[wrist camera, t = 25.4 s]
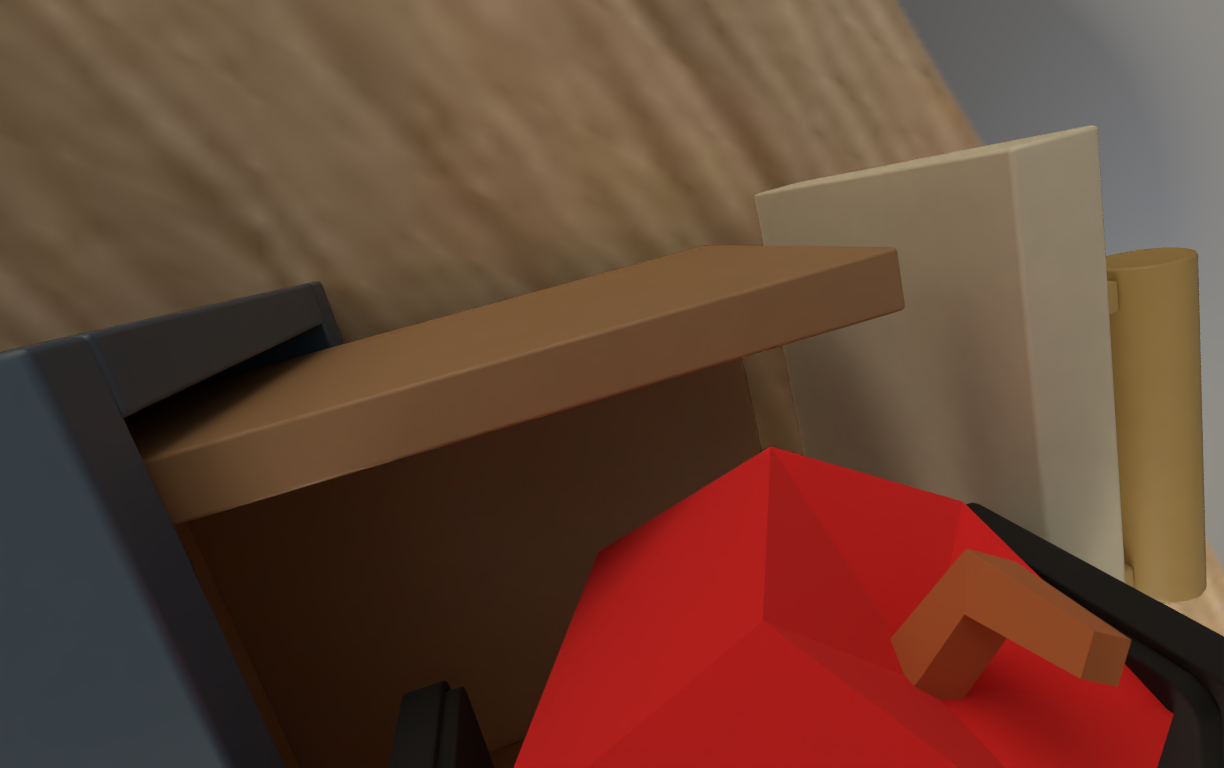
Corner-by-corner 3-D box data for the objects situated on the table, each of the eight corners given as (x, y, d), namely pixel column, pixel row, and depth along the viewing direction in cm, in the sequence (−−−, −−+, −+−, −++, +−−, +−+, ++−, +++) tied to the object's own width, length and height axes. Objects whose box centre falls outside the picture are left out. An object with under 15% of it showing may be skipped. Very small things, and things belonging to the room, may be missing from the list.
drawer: (990, 131, 16) (1442, 29, 8) (1035, 579, 19) (1394, 803, 11) (107, 366, 14) (-377, 522, 6) (323, 832, 17) (182, 1322, 9)
